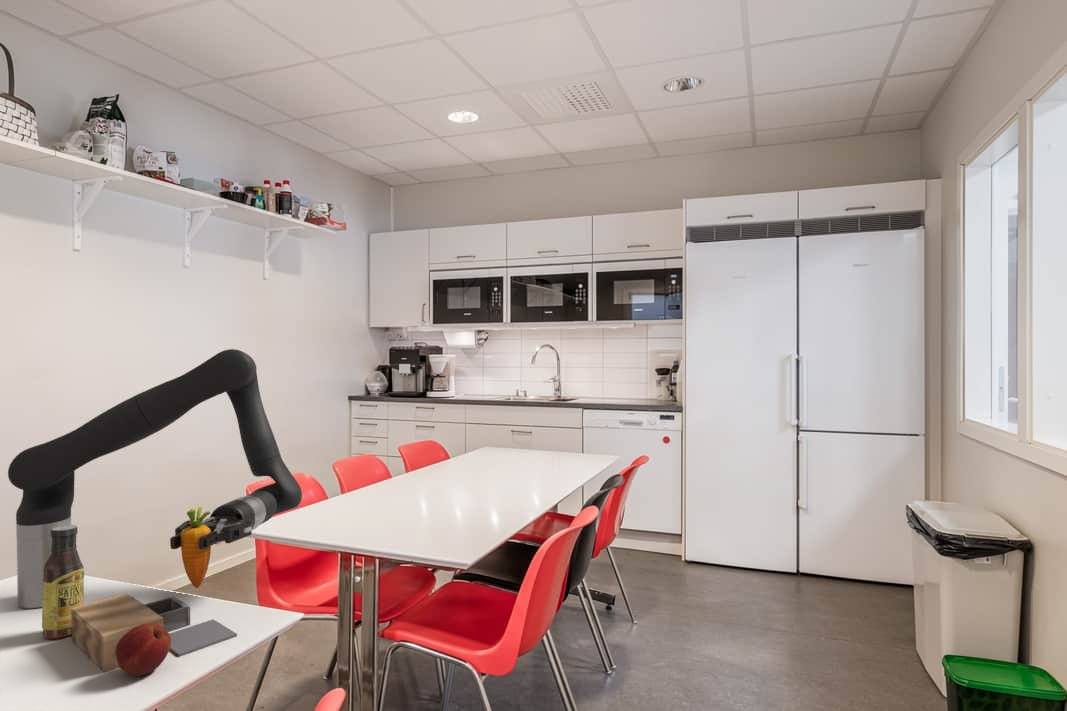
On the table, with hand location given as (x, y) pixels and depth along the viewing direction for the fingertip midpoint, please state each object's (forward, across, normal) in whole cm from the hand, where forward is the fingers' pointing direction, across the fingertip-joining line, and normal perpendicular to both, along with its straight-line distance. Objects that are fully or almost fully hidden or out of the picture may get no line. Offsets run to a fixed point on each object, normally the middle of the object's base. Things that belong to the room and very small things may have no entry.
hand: (187, 543), depth 113 cm
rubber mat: (-2, 0, +18) cm, 18 cm away
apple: (+10, -2, +18) cm, 21 cm away
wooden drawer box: (-2, -10, +18) cm, 21 cm away
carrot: (-3, 0, +9) cm, 10 cm away
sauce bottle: (-3, -27, +18) cm, 33 cm away
